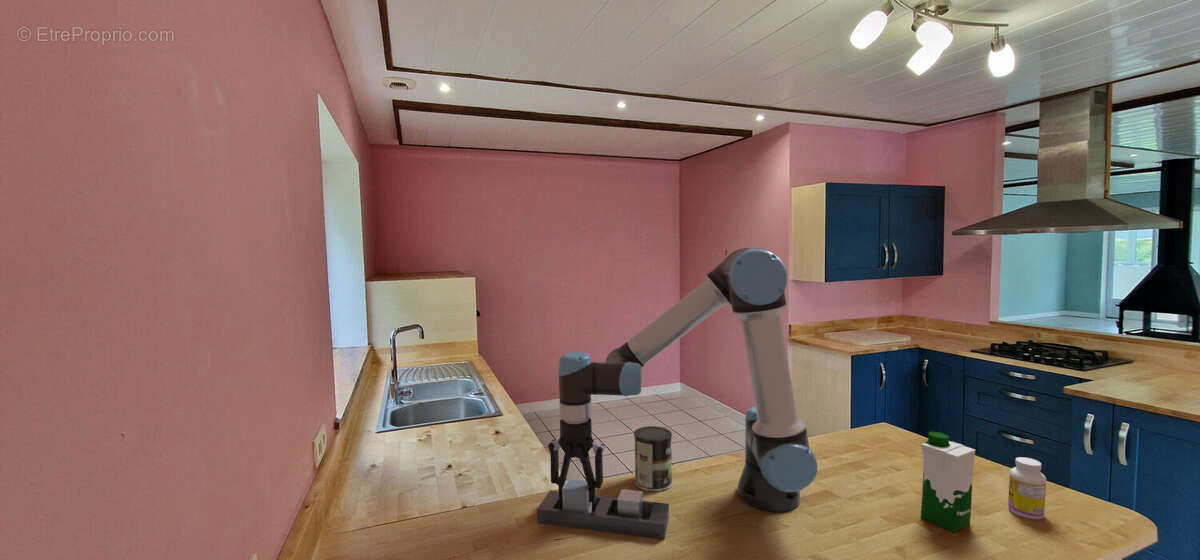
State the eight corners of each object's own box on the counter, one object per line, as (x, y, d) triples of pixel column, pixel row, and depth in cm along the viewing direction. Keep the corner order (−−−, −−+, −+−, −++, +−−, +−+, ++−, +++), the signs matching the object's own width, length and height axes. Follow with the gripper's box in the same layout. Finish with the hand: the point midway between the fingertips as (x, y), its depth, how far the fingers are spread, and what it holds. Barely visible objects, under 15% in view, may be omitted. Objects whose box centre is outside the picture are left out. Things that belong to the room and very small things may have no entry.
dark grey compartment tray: (668, 517, 118) (668, 503, 118) (664, 539, 110) (664, 524, 109) (550, 503, 126) (549, 490, 125) (537, 523, 117) (537, 508, 117)
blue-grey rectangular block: (590, 508, 121) (589, 481, 120) (584, 520, 116) (584, 491, 116) (570, 506, 122) (569, 479, 122) (564, 517, 117) (563, 489, 117)
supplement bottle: (1009, 502, 123) (1012, 452, 122) (1045, 512, 118) (1048, 460, 117) (1005, 513, 118) (1008, 461, 117) (1043, 524, 114) (1046, 470, 113)
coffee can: (673, 475, 140) (672, 426, 139) (670, 493, 130) (670, 441, 129) (636, 472, 142) (636, 424, 141) (631, 490, 132) (631, 438, 131)
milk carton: (935, 507, 121) (938, 428, 120) (977, 525, 113) (981, 441, 112) (914, 516, 117) (917, 434, 116) (956, 536, 109) (959, 449, 108)
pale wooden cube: (642, 519, 118) (642, 491, 117) (639, 531, 113) (639, 502, 112) (622, 517, 119) (621, 489, 119) (617, 528, 114) (617, 499, 114)
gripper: (616, 415, 119) (617, 508, 121) (545, 410, 123) (547, 500, 125) (609, 426, 111) (610, 525, 113) (534, 421, 116) (536, 516, 118)
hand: (577, 512), depth 119 cm, fingers closed on blue-grey rectangular block, 5 cm apart
